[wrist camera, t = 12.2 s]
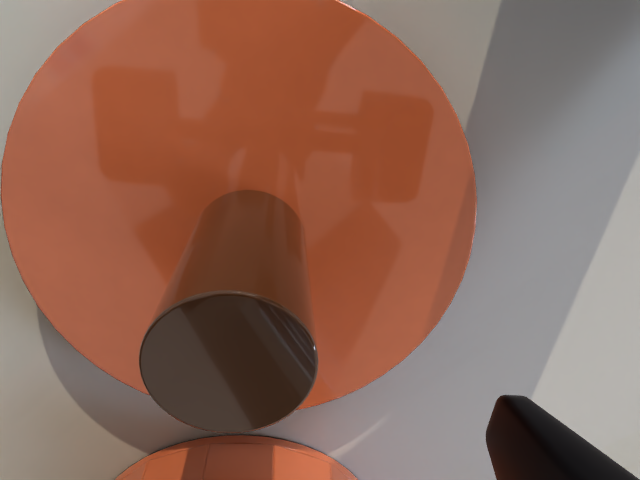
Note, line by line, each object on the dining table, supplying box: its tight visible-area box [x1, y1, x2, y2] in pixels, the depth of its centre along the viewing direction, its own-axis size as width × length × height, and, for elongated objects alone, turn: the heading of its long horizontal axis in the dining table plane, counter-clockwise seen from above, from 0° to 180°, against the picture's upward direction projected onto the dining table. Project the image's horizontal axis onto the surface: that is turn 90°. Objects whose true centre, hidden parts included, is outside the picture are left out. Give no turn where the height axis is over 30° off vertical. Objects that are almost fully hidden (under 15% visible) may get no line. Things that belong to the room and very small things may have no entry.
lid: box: [1, 0, 477, 433], centre depth 11 cm, size 13×13×7 cm
